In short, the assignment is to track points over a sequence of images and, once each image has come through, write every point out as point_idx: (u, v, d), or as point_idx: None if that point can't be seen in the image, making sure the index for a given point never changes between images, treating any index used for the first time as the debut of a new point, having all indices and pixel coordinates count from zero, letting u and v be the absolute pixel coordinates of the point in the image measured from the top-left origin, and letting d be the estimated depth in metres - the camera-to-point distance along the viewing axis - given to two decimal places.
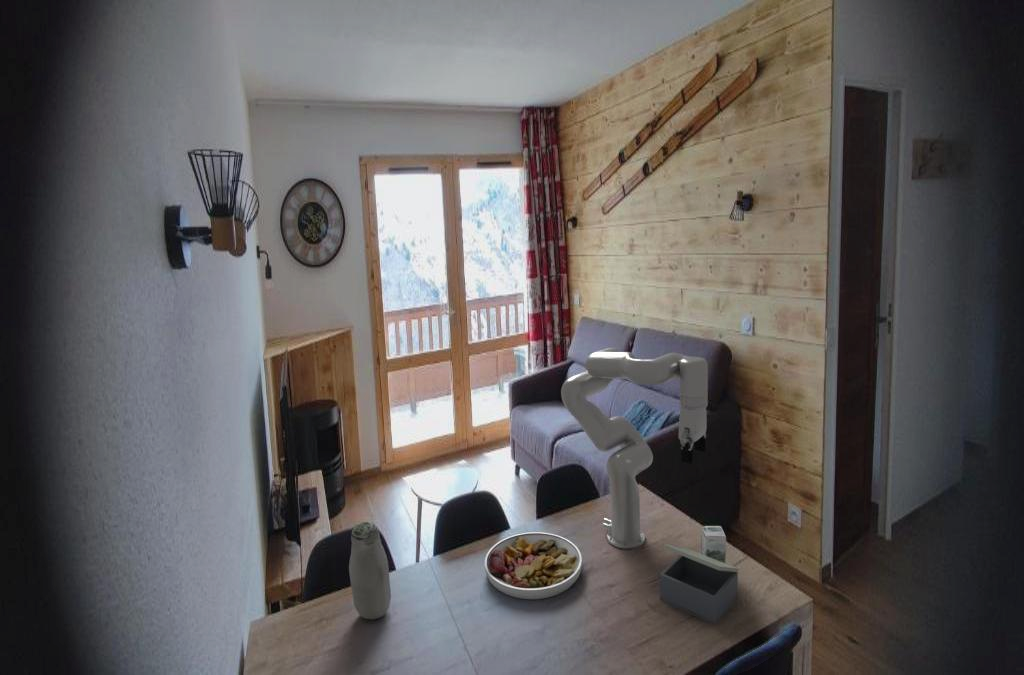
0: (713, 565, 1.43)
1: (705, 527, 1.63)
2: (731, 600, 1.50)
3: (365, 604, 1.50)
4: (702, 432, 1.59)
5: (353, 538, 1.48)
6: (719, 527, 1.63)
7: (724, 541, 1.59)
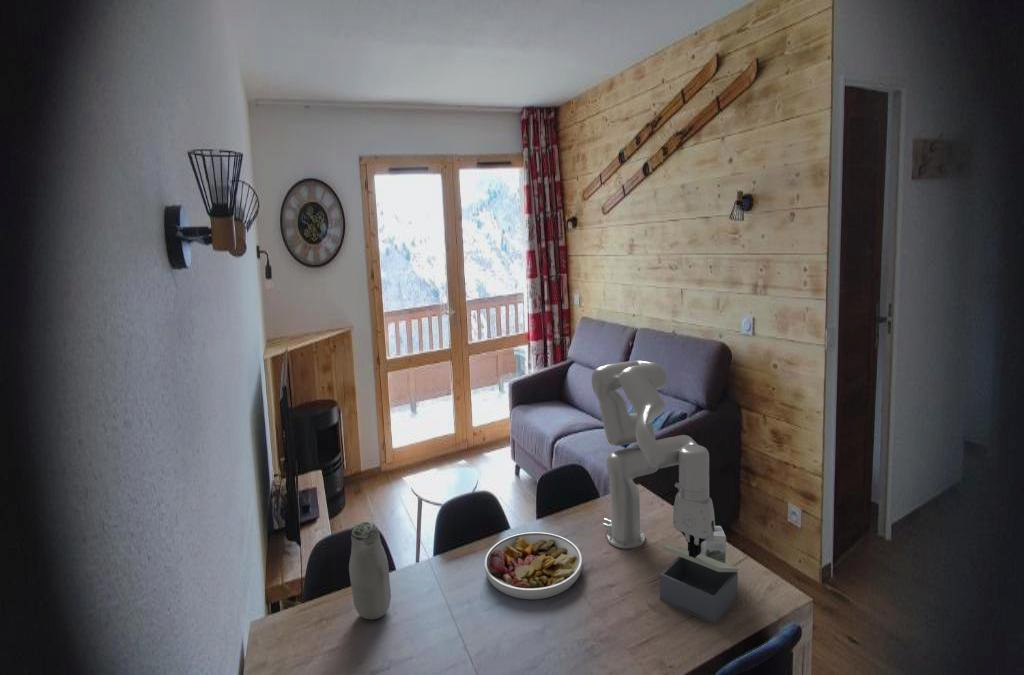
0: (713, 567, 1.43)
1: None
2: (731, 600, 1.50)
3: (365, 604, 1.50)
4: None
5: (353, 538, 1.48)
6: (719, 527, 1.63)
7: (724, 541, 1.59)
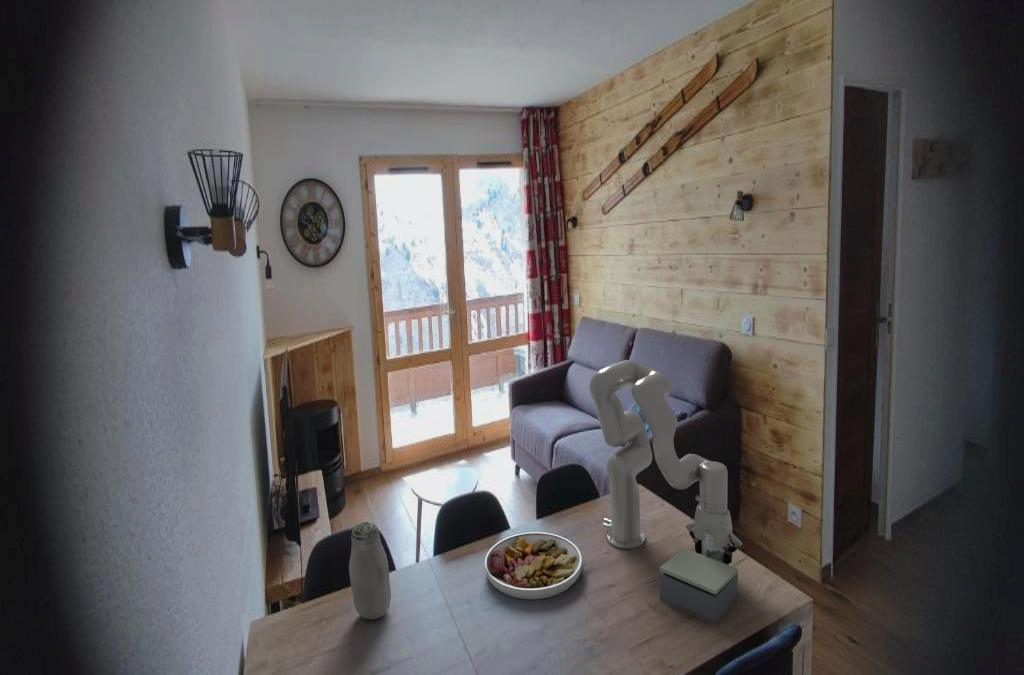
0: (709, 589, 1.43)
1: None
2: (731, 600, 1.50)
3: (365, 604, 1.50)
4: None
5: (353, 538, 1.48)
6: None
7: None
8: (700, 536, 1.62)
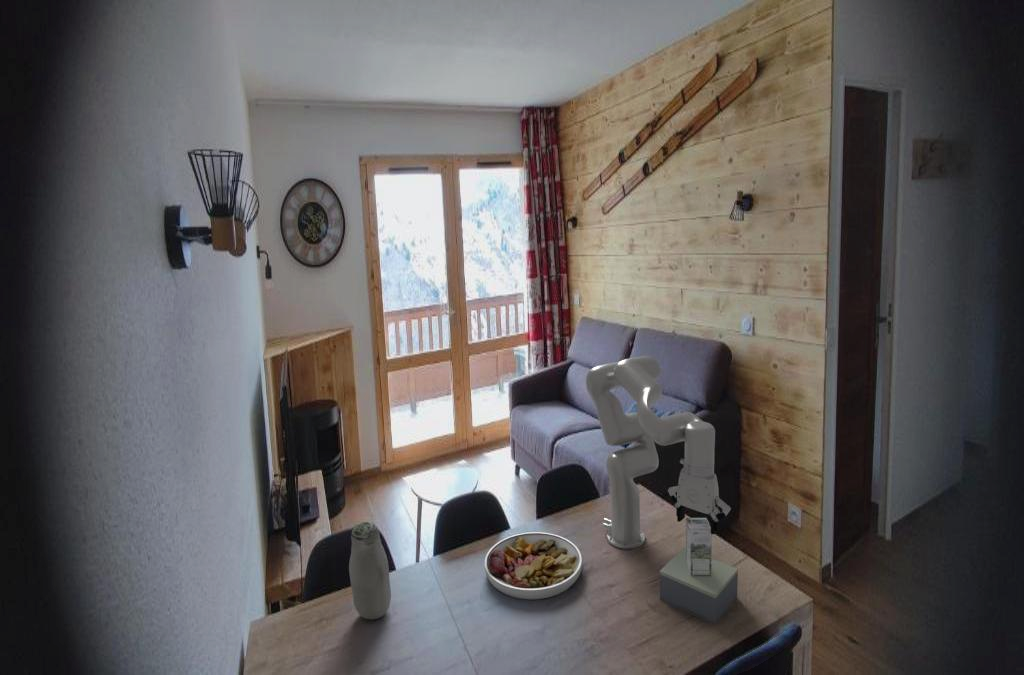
0: (709, 593, 1.43)
1: (690, 519, 1.51)
2: (731, 600, 1.50)
3: (365, 604, 1.50)
4: None
5: (353, 538, 1.48)
6: (705, 519, 1.51)
7: (710, 534, 1.47)
8: (684, 502, 1.48)
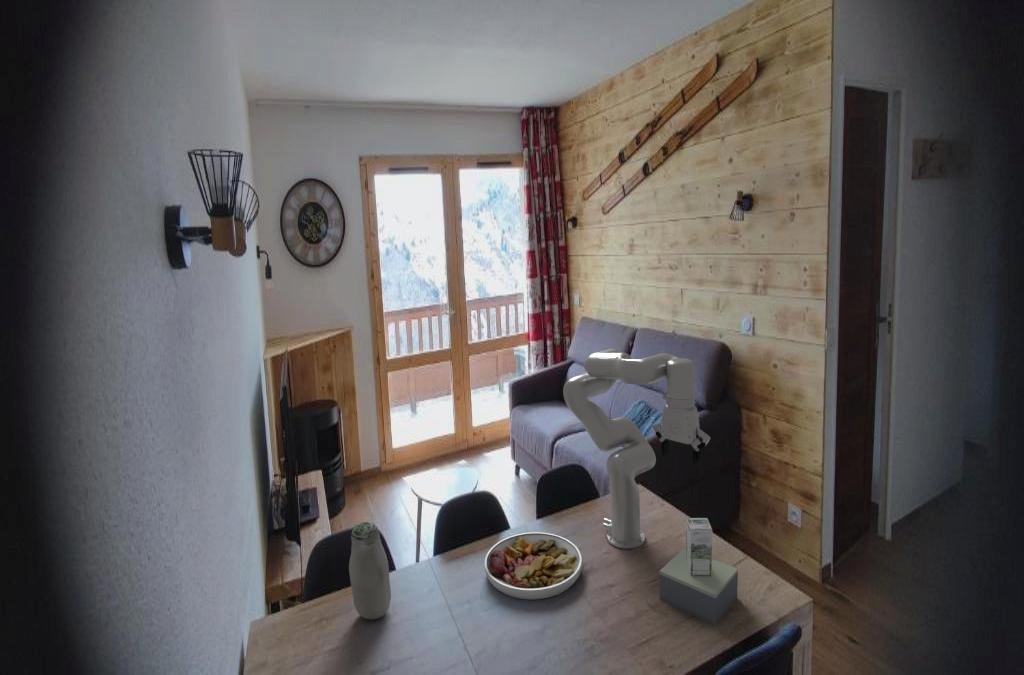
0: (709, 593, 1.43)
1: (690, 519, 1.51)
2: (731, 600, 1.50)
3: (365, 604, 1.50)
4: None
5: (353, 538, 1.48)
6: (705, 519, 1.51)
7: (710, 534, 1.47)
8: (667, 435, 1.59)
